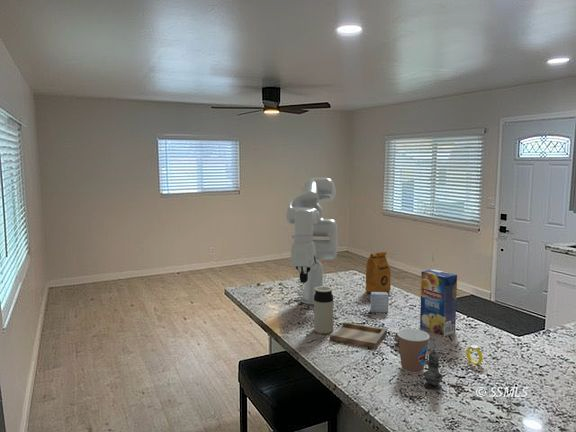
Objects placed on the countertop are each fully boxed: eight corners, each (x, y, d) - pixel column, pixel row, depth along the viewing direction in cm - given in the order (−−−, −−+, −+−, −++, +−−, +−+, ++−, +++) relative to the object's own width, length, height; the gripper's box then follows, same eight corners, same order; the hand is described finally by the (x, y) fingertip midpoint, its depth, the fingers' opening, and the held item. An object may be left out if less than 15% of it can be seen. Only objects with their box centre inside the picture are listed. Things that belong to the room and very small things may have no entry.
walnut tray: (329, 339, 168) (329, 334, 167) (343, 326, 182) (343, 321, 181) (375, 348, 159) (375, 343, 159) (386, 333, 173) (386, 329, 173)
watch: (464, 360, 149) (464, 344, 149) (470, 359, 150) (470, 342, 150) (478, 366, 144) (477, 349, 143) (484, 365, 145) (484, 348, 144)
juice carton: (455, 332, 174) (457, 275, 172) (443, 336, 170) (445, 277, 168) (431, 323, 184) (433, 269, 182) (419, 326, 180) (421, 271, 178)
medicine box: (387, 309, 203) (387, 292, 202) (388, 312, 198) (388, 294, 197) (370, 309, 203) (370, 291, 202) (371, 312, 199) (371, 294, 198)
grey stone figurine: (419, 381, 134) (420, 345, 133) (437, 381, 135) (439, 344, 133) (427, 391, 128) (428, 353, 127) (446, 390, 129) (447, 352, 127)
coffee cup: (423, 378, 136) (425, 342, 135) (392, 371, 141) (393, 336, 140) (431, 366, 145) (432, 332, 143) (401, 359, 150) (402, 326, 149)
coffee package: (393, 292, 230) (393, 252, 227) (374, 296, 224) (375, 255, 222) (381, 288, 239) (381, 249, 236) (363, 291, 233) (363, 251, 231)
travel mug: (332, 334, 173) (332, 291, 171) (312, 333, 174) (312, 290, 172) (334, 327, 181) (334, 286, 179) (315, 326, 182) (315, 285, 180)
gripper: (283, 239, 177) (283, 282, 179) (316, 241, 171) (316, 286, 172) (291, 236, 184) (292, 278, 186) (323, 238, 177) (323, 282, 179)
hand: (303, 282), depth 179 cm, fingers closed
